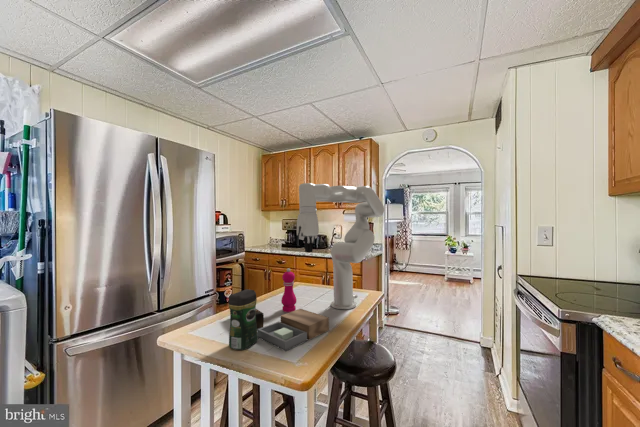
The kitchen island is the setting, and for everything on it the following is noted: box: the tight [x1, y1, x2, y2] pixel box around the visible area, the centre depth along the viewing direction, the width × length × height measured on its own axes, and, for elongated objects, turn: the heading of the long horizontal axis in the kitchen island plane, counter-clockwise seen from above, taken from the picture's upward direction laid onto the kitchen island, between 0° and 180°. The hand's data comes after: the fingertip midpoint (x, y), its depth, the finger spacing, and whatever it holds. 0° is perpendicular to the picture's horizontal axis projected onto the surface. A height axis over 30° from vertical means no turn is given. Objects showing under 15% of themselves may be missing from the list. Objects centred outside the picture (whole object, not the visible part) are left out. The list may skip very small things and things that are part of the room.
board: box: [280, 308, 330, 341], centre depth 106 cm, size 11×16×5 cm
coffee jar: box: [227, 288, 259, 351], centre depth 94 cm, size 10×8×19 cm
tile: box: [274, 328, 293, 340], centre depth 98 cm, size 5×5×2 cm
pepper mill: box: [280, 267, 297, 313], centre depth 129 cm, size 7×7×20 cm
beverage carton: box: [256, 308, 265, 329], centre depth 113 cm, size 8×19×7 cm, turn 36°
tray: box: [257, 321, 308, 352], centre depth 97 cm, size 10×16×3 cm, turn 47°
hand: (308, 251), depth 120 cm, fingers closed
